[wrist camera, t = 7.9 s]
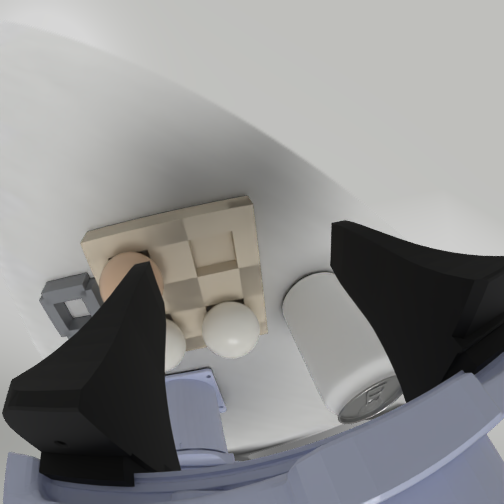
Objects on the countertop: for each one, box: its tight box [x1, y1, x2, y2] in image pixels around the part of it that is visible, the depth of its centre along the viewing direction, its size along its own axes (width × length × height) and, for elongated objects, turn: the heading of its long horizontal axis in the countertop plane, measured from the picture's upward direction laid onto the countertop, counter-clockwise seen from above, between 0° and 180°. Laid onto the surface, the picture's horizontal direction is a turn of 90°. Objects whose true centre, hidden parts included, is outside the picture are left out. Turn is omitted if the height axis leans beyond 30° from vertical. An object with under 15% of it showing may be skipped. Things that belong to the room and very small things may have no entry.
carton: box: [80, 196, 268, 351], centre depth 22 cm, size 12×12×2 cm
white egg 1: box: [165, 318, 186, 372], centre depth 21 cm, size 4×4×4 cm
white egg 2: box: [202, 301, 260, 359], centre depth 22 cm, size 4×4×4 cm
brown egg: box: [99, 252, 164, 302], centre depth 18 cm, size 4×4×4 cm
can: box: [282, 272, 403, 424], centre depth 22 cm, size 6×6×12 cm
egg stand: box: [39, 273, 104, 339], centre depth 21 cm, size 5×5×2 cm
